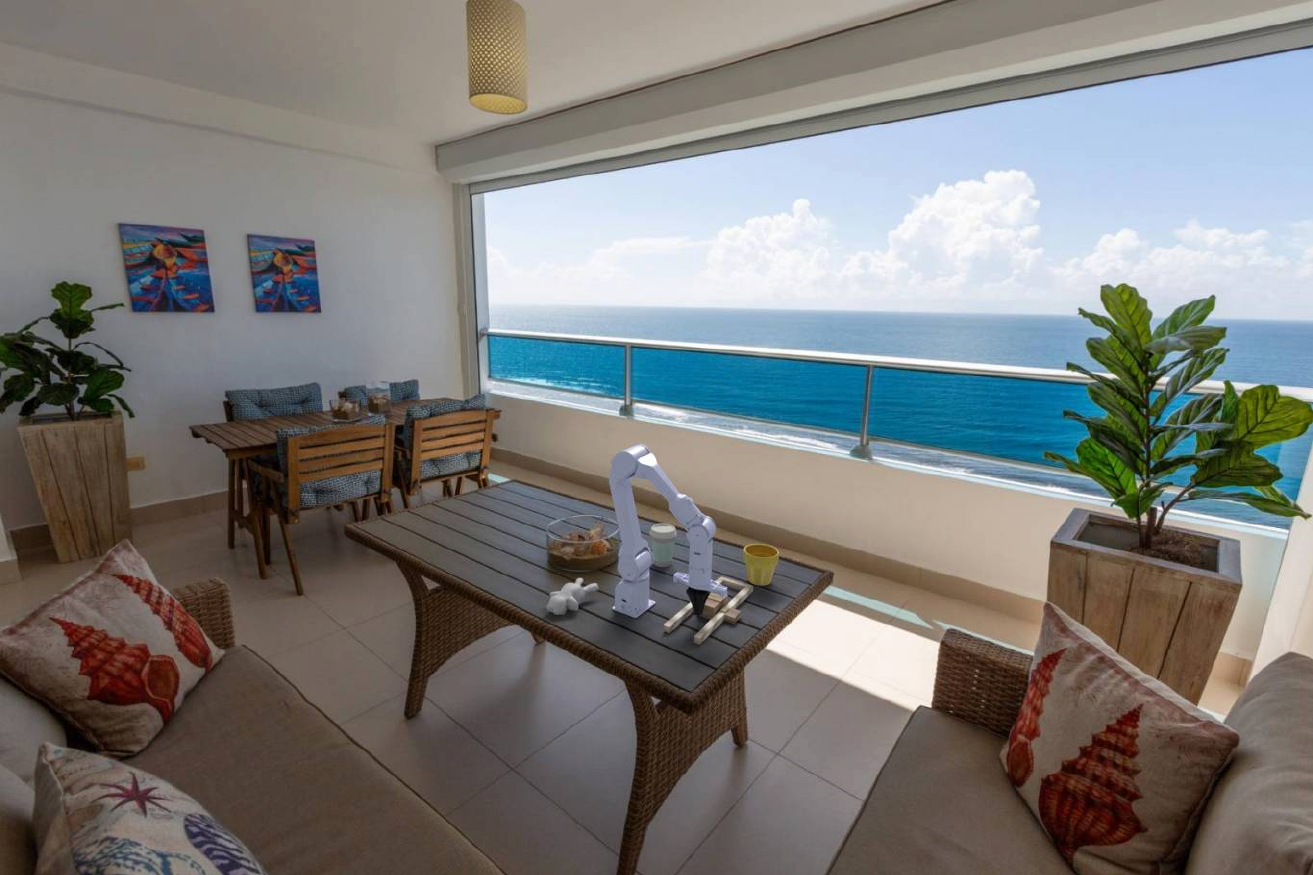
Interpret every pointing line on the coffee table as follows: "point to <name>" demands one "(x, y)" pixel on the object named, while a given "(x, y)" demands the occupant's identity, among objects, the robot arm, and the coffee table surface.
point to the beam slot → (725, 614)
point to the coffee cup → (662, 544)
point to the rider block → (714, 605)
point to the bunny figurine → (569, 597)
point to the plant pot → (760, 563)
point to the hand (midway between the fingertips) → (698, 613)
